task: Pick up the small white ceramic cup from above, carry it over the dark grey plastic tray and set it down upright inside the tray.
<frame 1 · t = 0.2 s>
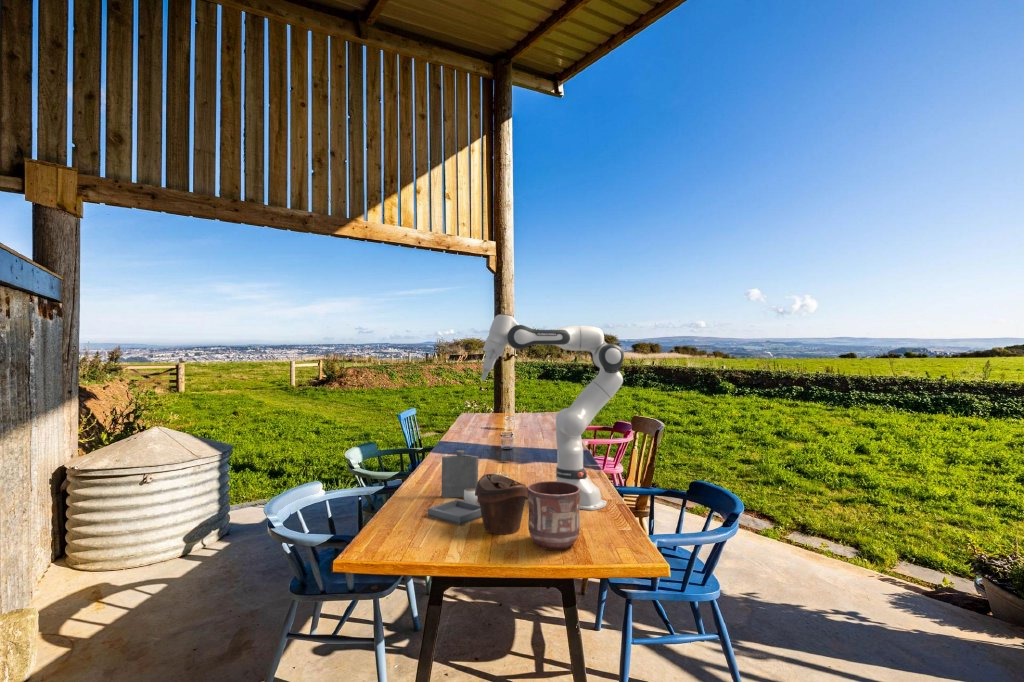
hand: (482, 379, 204), 52 cm above the table, tool tilted 20°, fingers open, 8 cm apart
hip flask: (459, 497, 209), on the table
tray: (458, 515, 182), on the table
cup: (470, 504, 197), on the table
brown lidded tumbler: (502, 529, 168), on the table
pottery: (553, 544, 154), on the table
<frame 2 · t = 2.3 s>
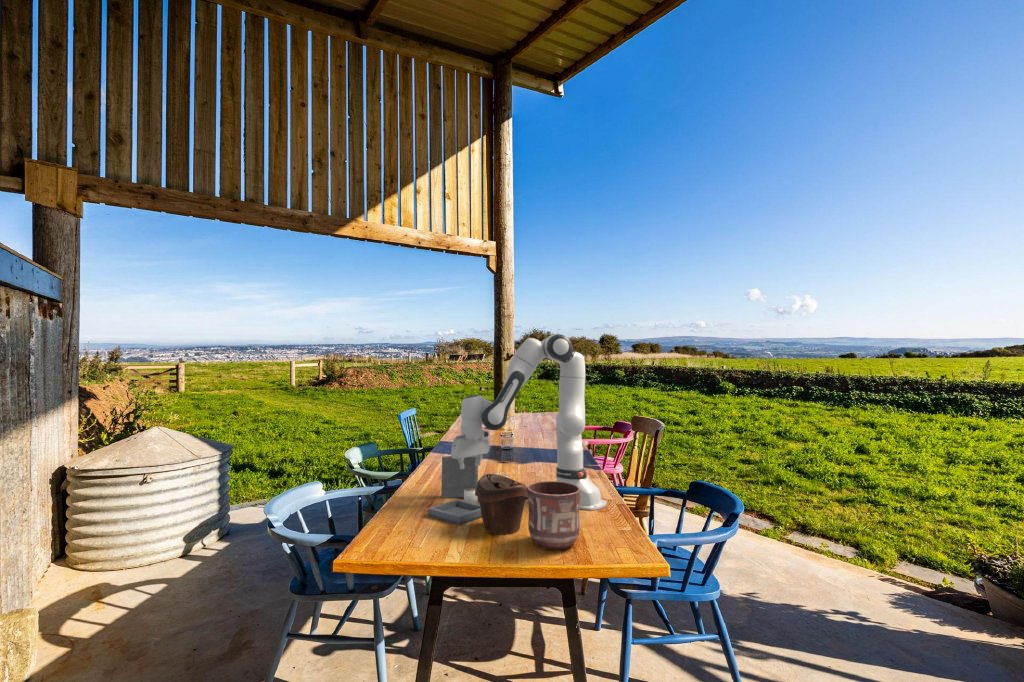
hand: (470, 467, 198), 15 cm above the table, tool pointing down, fingers open, 8 cm apart
nothing on the table moved.
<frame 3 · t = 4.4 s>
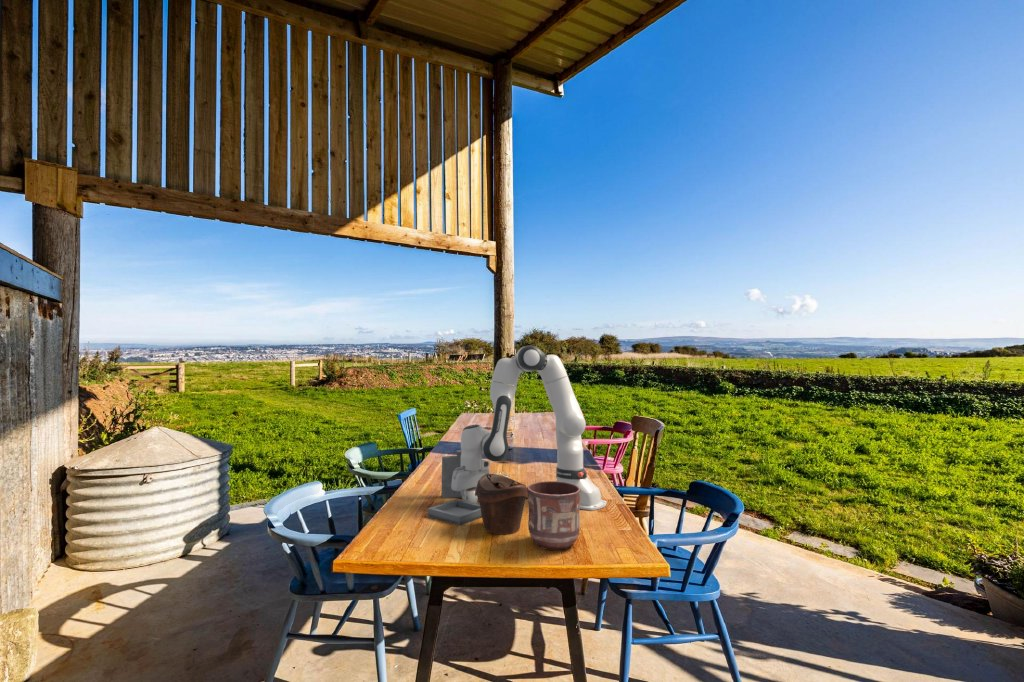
hand: (470, 498, 197), 3 cm above the table, tool pointing down, fingers closed on cup, 6 cm apart
cup: (470, 504, 197), on the table, touching gripper
everything else where it was.
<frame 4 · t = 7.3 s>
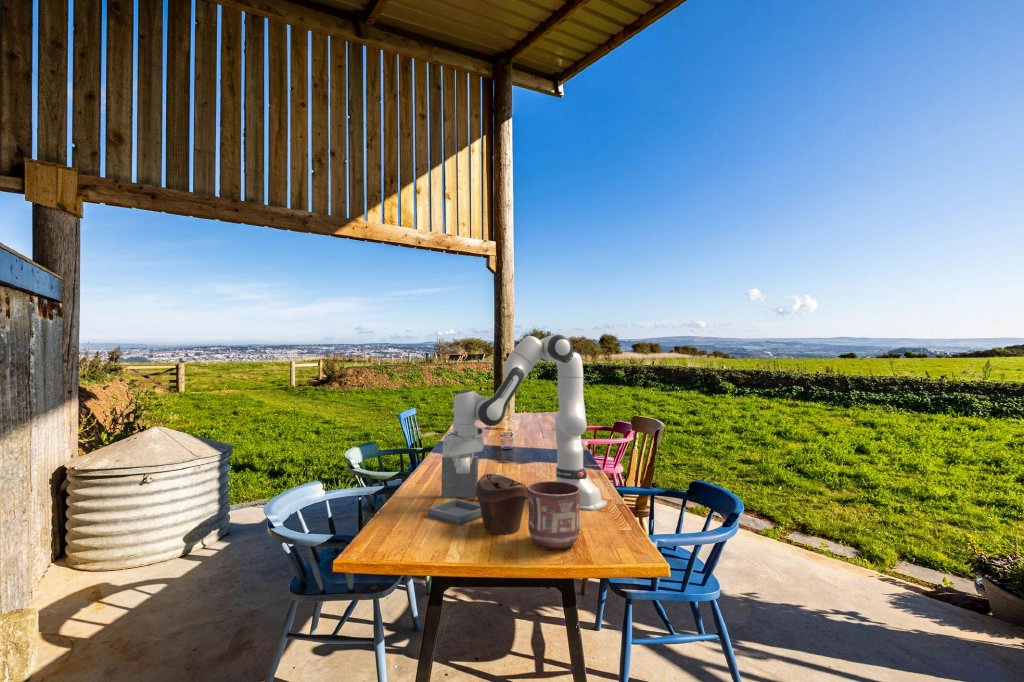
hand: (463, 465, 190), 18 cm above the table, tool pointing down, fingers closed on cup, 6 cm apart
cup: (462, 472, 190), point 15 cm above the table, touching gripper
everything else where it was.
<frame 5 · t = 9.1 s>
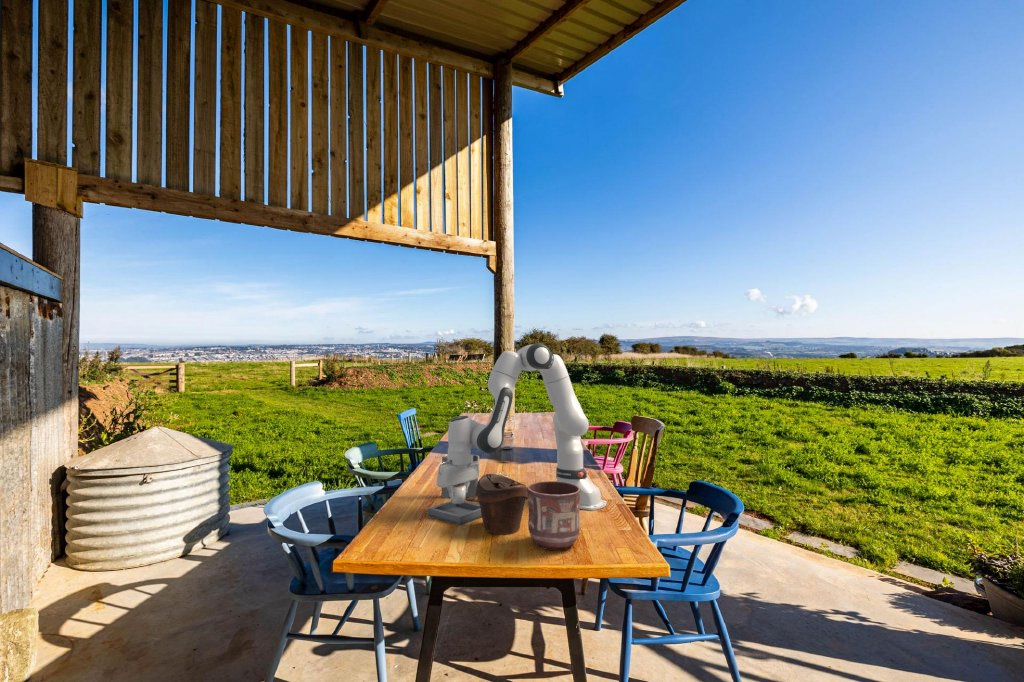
hand: (458, 494, 183), 8 cm above the table, tool pointing down, fingers closed on cup, 6 cm apart
cup: (458, 501, 183), point 5 cm above the table, touching gripper
everything else where it was.
when the fingers open (5 cm above the table, at t = 10.6 s): cup stays where it is, resting on tray.
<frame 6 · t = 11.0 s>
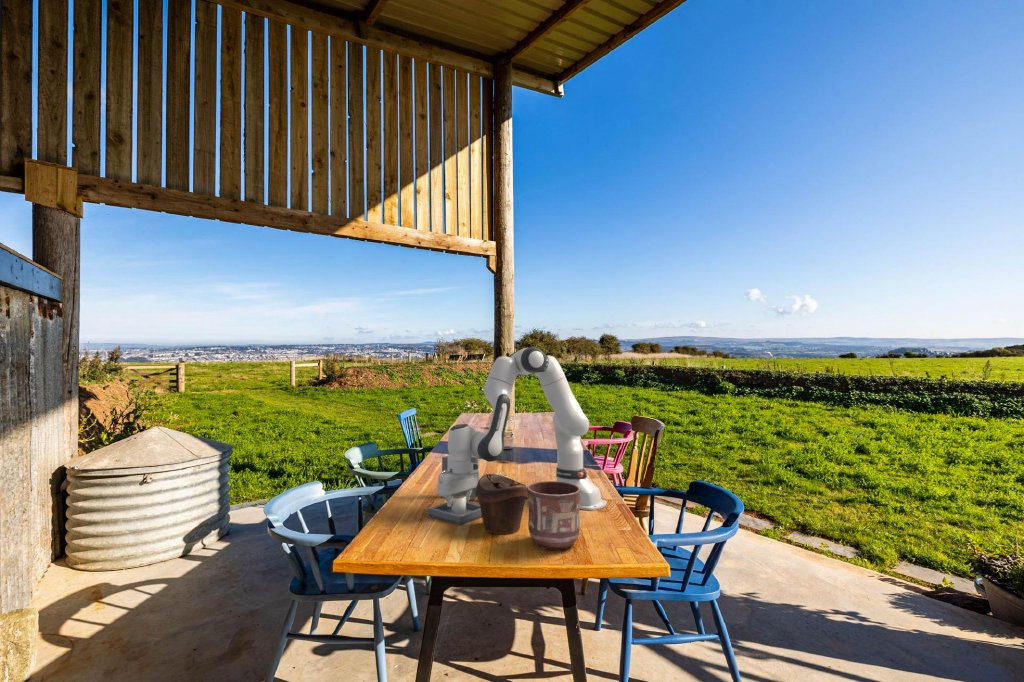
hand: (458, 503, 183), 5 cm above the table, tool pointing down, fingers open, 8 cm apart
cup: (458, 512, 182), point 1 cm above the table, touching tray
everything else where it was.
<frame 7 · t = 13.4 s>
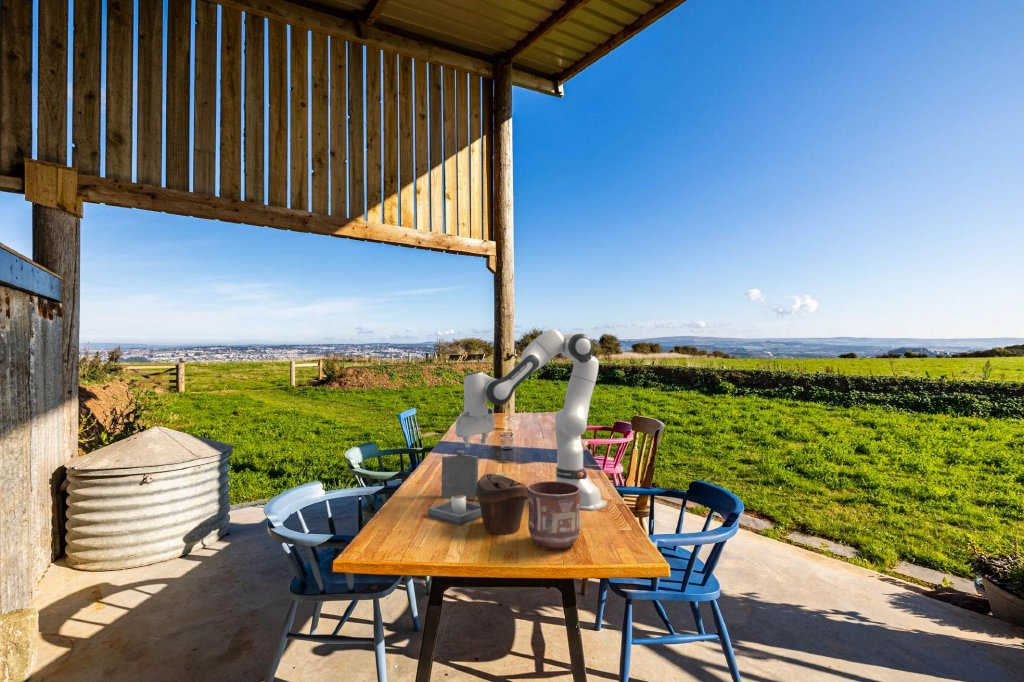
hand: (475, 445, 194), 25 cm above the table, tool pointing down, fingers open, 8 cm apart
nothing on the table moved.
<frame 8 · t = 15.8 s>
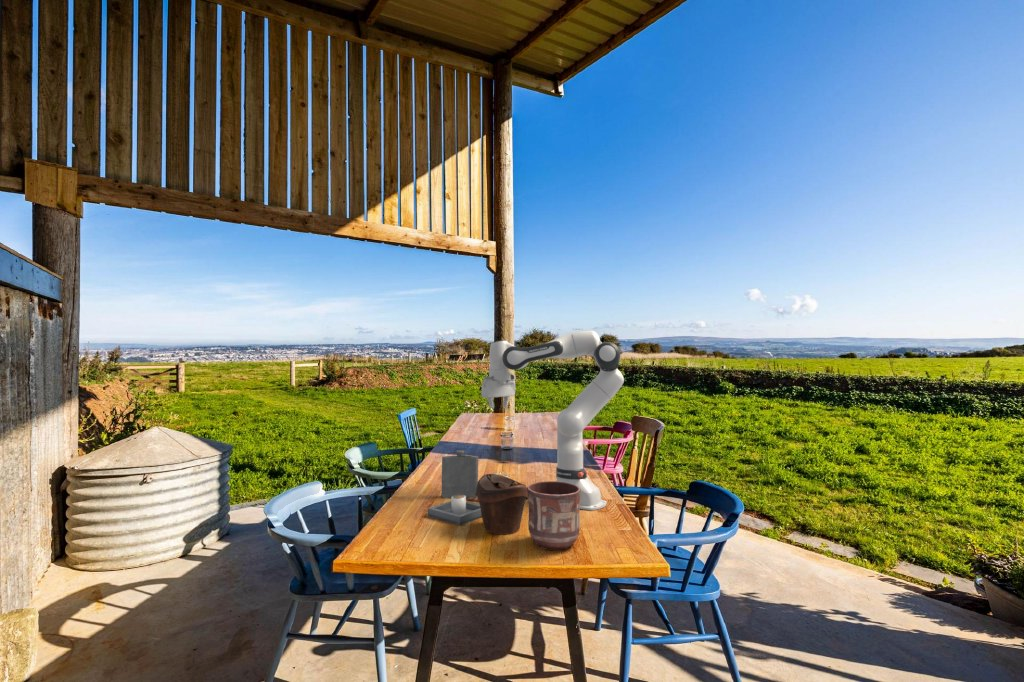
hand: (498, 407, 214), 39 cm above the table, tool pointing down, fingers open, 8 cm apart
nothing on the table moved.
at the end: cup inside the target area on the tray (0.1 cm from its centre), point 1.1 cm above the tray's base; cup tilted 2°; the gripper is holding nothing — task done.
